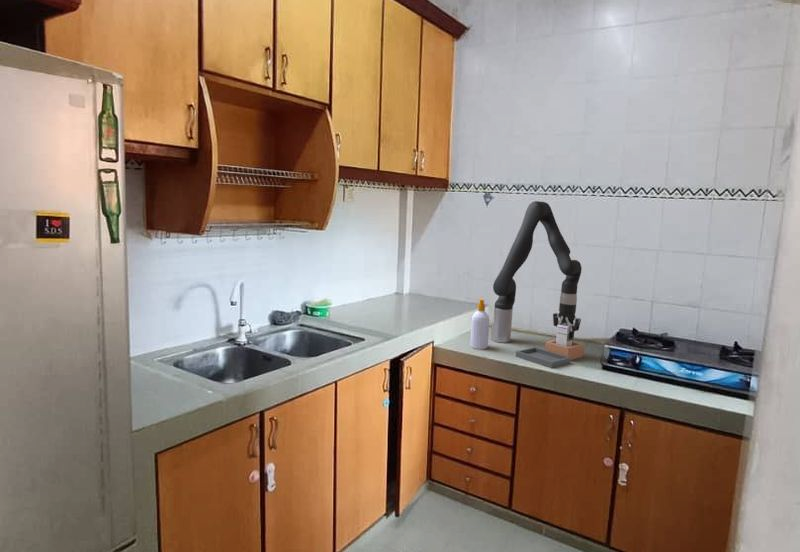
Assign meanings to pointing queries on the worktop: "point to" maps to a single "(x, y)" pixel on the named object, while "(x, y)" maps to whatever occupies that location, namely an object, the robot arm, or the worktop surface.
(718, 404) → the worktop surface
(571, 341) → the syrup box
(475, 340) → the soap bottle
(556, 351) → the terracotta open box
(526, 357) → the charcoal tray
